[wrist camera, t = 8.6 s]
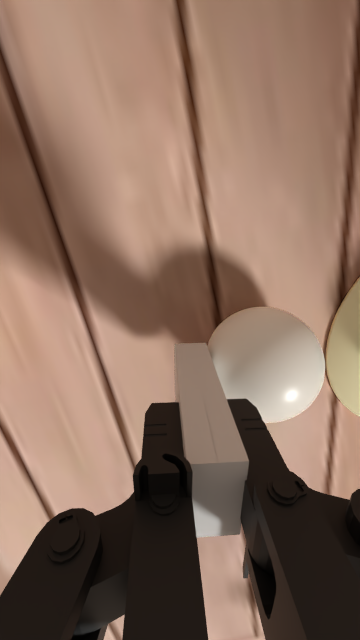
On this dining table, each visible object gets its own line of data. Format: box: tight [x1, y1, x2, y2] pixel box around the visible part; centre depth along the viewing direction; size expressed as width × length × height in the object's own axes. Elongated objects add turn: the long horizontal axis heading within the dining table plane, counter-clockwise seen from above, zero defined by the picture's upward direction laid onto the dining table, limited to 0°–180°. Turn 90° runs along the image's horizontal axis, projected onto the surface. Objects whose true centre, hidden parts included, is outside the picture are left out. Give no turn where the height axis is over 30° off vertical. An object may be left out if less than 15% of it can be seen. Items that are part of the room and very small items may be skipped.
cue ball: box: [207, 307, 325, 423], centre depth 13 cm, size 6×6×6 cm
